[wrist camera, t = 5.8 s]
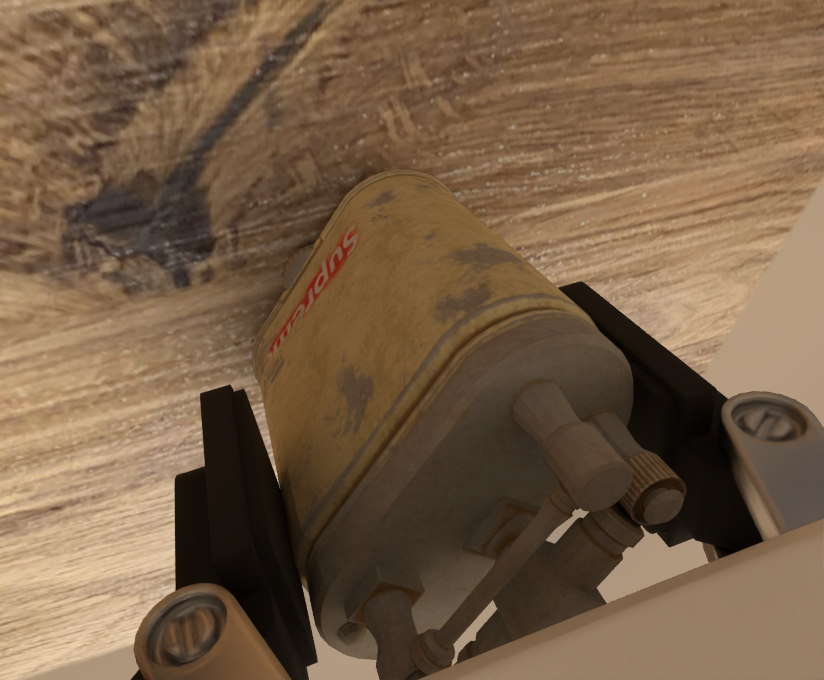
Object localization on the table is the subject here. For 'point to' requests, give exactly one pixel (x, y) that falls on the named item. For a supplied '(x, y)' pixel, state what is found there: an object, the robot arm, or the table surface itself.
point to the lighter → (445, 433)
